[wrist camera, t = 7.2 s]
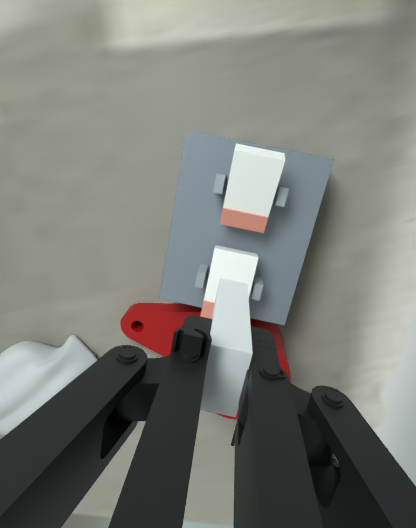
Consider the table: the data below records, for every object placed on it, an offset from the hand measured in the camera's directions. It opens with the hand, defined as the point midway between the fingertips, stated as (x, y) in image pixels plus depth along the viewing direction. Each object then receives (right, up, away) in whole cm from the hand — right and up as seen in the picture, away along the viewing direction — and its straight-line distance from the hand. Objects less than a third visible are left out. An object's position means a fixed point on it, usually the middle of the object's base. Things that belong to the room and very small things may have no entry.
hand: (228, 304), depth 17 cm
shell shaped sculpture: (-20, -12, +23) cm, 32 cm away
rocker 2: (+1, 0, +10) cm, 10 cm away
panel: (+2, +6, +15) cm, 17 cm away
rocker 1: (+2, +8, +8) cm, 11 cm away
